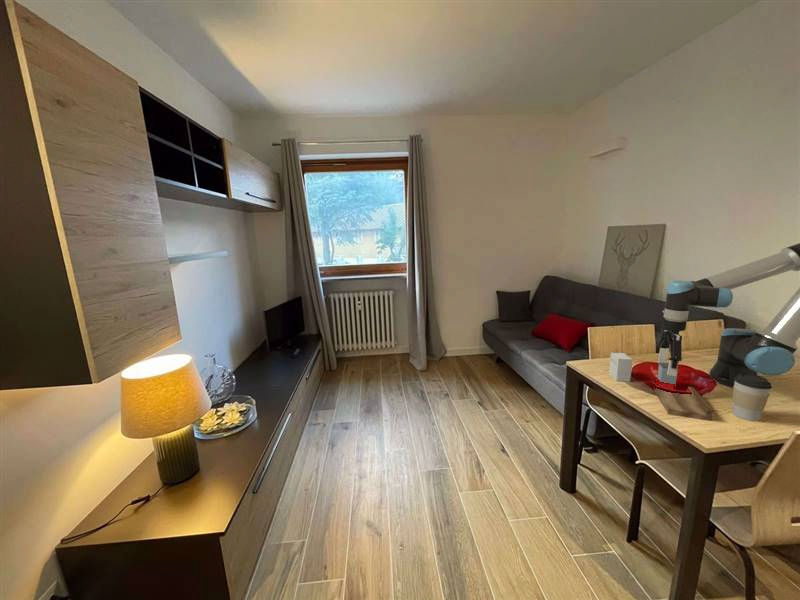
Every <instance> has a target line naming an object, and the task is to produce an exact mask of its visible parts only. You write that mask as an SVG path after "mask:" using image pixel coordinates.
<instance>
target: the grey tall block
mask: <svg viewBox="0 0 800 600" xmlns="http://www.w3.org/2000/svg"><path fill="white" fill-rule="evenodd" d="M668 366H669V362H666V363H662V362H659V363H658V371H657V377H658V379H659V380H660V382H664V383H670V384H675V386H676V384H677V378H678V377H677V376H678V373H677V374H676V376H671V375H667V372H668ZM678 369H679V367H678V368H677V372H678ZM657 377H656V378H657Z"/></svg>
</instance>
